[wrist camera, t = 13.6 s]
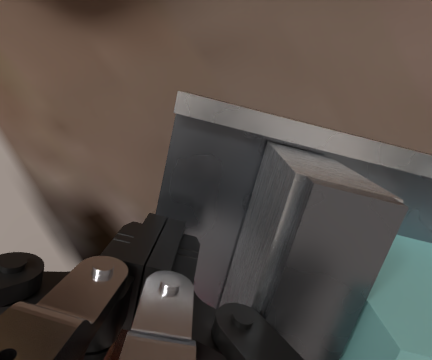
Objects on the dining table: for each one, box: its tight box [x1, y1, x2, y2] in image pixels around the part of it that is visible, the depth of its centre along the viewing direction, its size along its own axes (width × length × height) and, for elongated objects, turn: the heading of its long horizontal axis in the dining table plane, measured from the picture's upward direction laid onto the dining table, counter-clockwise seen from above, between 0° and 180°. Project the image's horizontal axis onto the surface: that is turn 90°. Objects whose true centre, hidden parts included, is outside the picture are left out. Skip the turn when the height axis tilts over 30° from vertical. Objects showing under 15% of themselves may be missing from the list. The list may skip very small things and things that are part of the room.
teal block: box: [339, 235, 432, 360], centre depth 10 cm, size 6×4×7 cm, turn 76°
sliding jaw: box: [218, 142, 409, 360], centre depth 10 cm, size 2×9×6 cm, turn 166°
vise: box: [156, 91, 432, 310], centre depth 11 cm, size 15×11×6 cm
